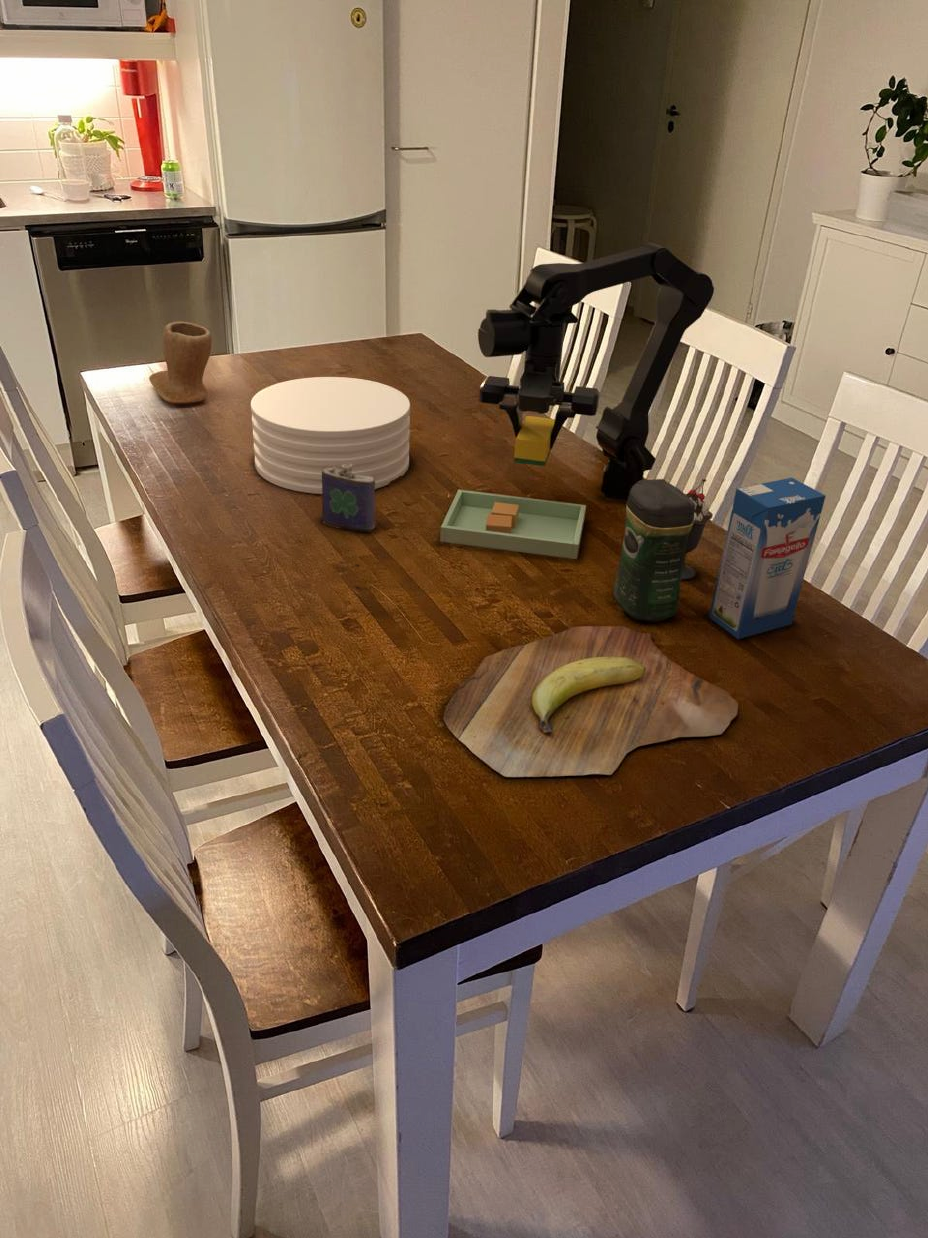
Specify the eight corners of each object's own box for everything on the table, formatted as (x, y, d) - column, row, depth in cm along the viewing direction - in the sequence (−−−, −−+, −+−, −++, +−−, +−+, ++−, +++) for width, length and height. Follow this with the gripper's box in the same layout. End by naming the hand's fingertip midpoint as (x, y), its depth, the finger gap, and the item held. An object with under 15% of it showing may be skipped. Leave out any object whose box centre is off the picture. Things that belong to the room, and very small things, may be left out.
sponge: (553, 441, 165) (556, 419, 163) (544, 466, 156) (547, 442, 153) (524, 438, 166) (526, 415, 163) (513, 462, 156) (515, 438, 154)
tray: (584, 521, 163) (586, 504, 161) (576, 562, 151) (578, 544, 149) (457, 505, 166) (458, 489, 164) (439, 544, 154) (440, 526, 152)
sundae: (703, 566, 152) (721, 477, 144) (697, 586, 146) (715, 494, 138) (661, 557, 153) (676, 469, 145) (653, 577, 148) (669, 486, 140)
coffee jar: (684, 620, 137) (708, 501, 128) (633, 627, 135) (653, 506, 125) (653, 587, 145) (673, 471, 135) (605, 592, 143) (621, 475, 133)
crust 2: (511, 529, 158) (512, 515, 156) (510, 540, 154) (511, 526, 153) (486, 527, 158) (487, 513, 157) (485, 538, 155) (485, 524, 153)
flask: (377, 528, 157) (377, 466, 152) (369, 535, 155) (369, 473, 149) (327, 516, 160) (324, 455, 154) (318, 523, 158) (315, 462, 152)
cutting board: (618, 613, 138) (621, 590, 136) (763, 717, 119) (770, 692, 117) (404, 684, 121) (404, 659, 119) (533, 818, 102) (536, 790, 100)
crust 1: (518, 518, 161) (519, 504, 160) (514, 528, 158) (515, 515, 157) (494, 515, 162) (495, 501, 161) (490, 525, 159) (491, 512, 157)
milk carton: (737, 639, 134) (768, 507, 123) (708, 617, 139) (735, 488, 128) (791, 624, 138) (826, 495, 127) (761, 603, 143) (792, 477, 132)
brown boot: (222, 403, 202) (216, 331, 194) (164, 410, 197) (155, 336, 189) (204, 381, 213) (198, 311, 205) (149, 387, 209) (140, 316, 201)
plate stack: (224, 474, 172) (218, 412, 166) (304, 424, 194) (302, 368, 188) (366, 506, 164) (365, 442, 158) (433, 450, 186) (434, 392, 180)
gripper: (474, 359, 146) (469, 456, 155) (598, 373, 144) (586, 472, 152) (488, 339, 156) (482, 432, 164) (605, 352, 153) (593, 446, 161)
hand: (534, 445), depth 160 cm, fingers closed on sponge, 5 cm apart
